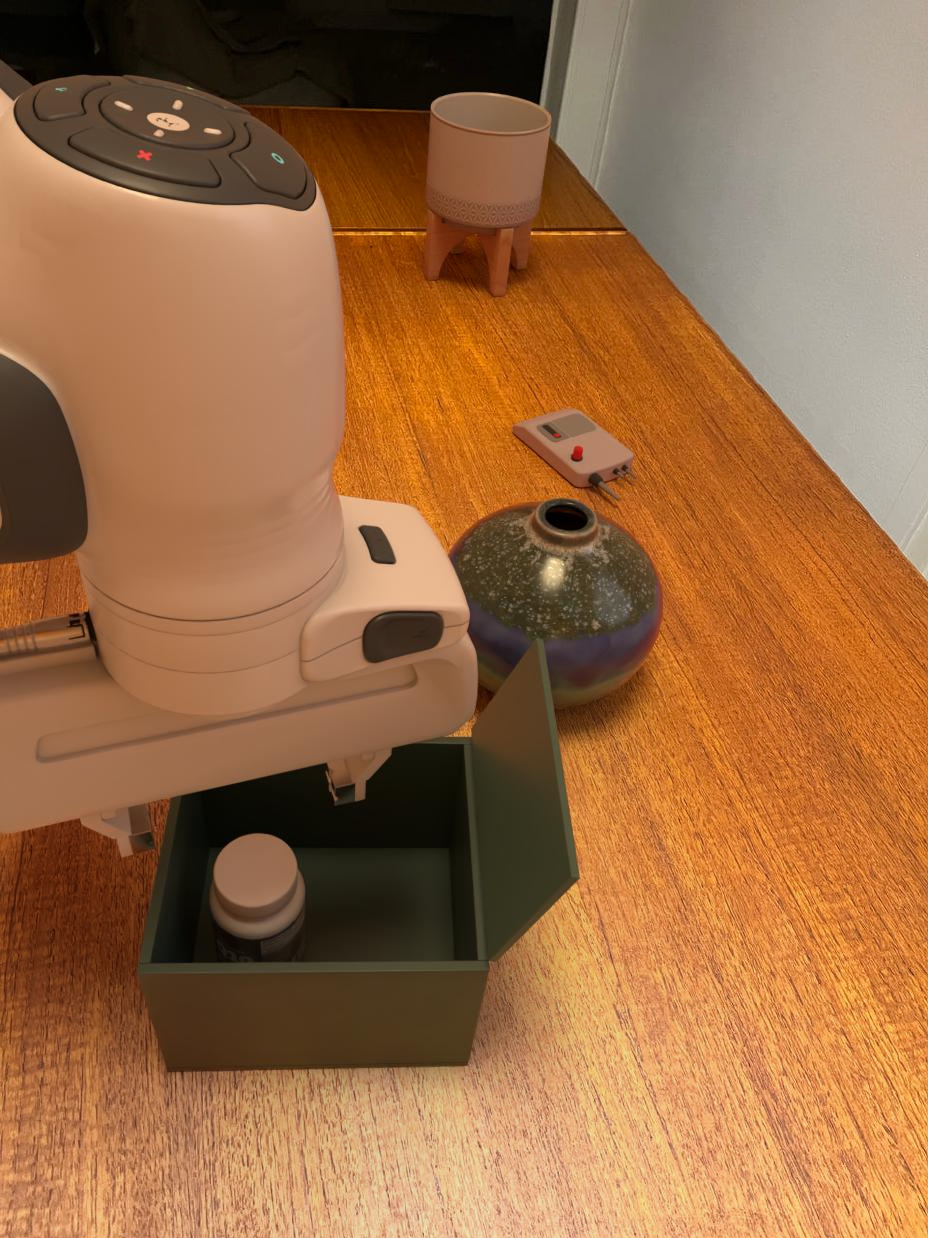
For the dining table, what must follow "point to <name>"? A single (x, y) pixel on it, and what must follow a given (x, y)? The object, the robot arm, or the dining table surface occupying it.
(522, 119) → the planter
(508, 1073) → the dining table surface
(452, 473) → the dining table surface
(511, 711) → the dark green box lid
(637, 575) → the vase
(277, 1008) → the open box
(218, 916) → the pill bottle
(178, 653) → the robot arm
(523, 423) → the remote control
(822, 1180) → the dining table surface
